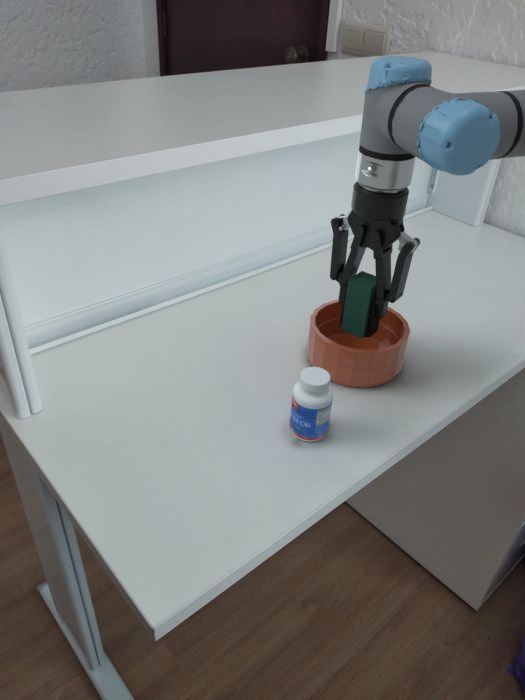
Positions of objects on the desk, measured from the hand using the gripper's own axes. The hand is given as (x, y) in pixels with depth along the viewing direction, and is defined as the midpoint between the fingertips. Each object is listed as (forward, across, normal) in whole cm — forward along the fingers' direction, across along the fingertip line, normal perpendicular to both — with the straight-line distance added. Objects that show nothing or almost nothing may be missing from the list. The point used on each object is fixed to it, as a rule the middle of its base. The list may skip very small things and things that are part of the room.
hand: (358, 327), depth 92 cm
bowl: (+6, 0, 0) cm, 6 cm away
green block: (0, 0, 0) cm, 0 cm away
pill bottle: (+6, +4, -19) cm, 20 cm away
